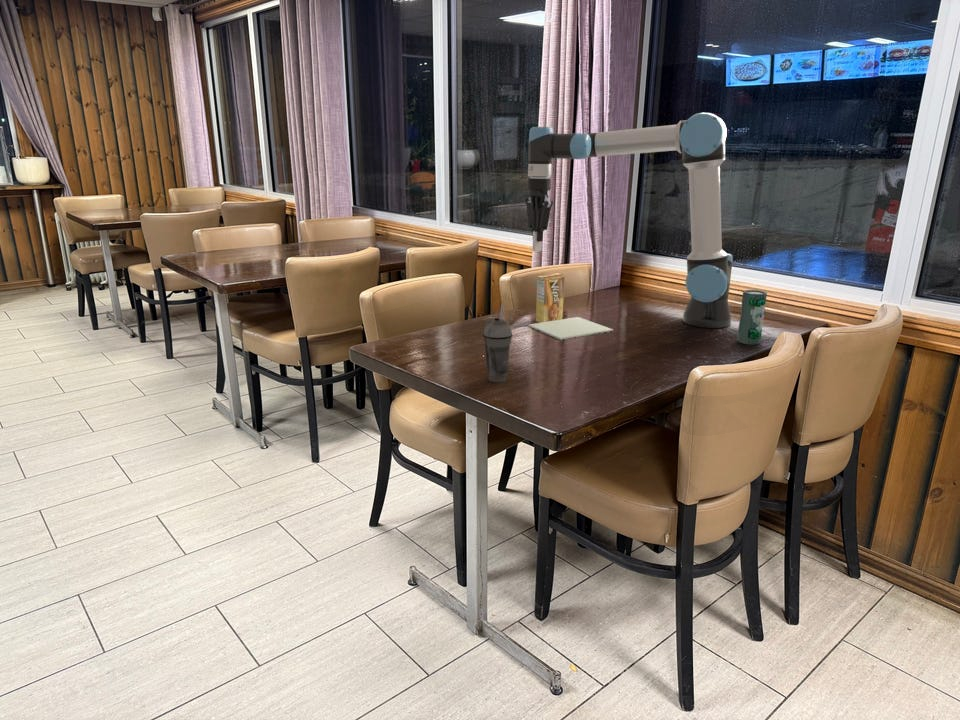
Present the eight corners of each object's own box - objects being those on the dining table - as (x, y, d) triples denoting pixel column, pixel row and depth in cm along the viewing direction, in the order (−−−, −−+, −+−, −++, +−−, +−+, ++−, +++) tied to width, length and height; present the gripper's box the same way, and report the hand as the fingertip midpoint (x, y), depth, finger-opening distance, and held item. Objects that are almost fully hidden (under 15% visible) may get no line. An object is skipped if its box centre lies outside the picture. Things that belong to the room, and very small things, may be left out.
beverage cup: (481, 374, 170) (481, 298, 164) (509, 373, 170) (510, 297, 164) (484, 384, 163) (484, 305, 157) (513, 383, 164) (514, 304, 157)
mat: (612, 331, 209) (612, 329, 208) (560, 340, 199) (560, 338, 199) (578, 318, 224) (578, 316, 223) (528, 326, 214) (528, 324, 214)
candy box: (554, 317, 225) (555, 272, 220) (563, 319, 222) (565, 274, 217) (535, 321, 220) (536, 275, 215) (544, 324, 217) (545, 277, 212)
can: (754, 345, 194) (761, 295, 189) (734, 341, 197) (740, 292, 193) (762, 341, 198) (769, 292, 193) (742, 337, 202) (748, 289, 197)
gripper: (518, 176, 217) (517, 249, 225) (541, 178, 206) (538, 254, 214) (538, 176, 221) (535, 247, 228) (560, 178, 210) (557, 253, 217)
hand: (537, 250), depth 221 cm, fingers closed
